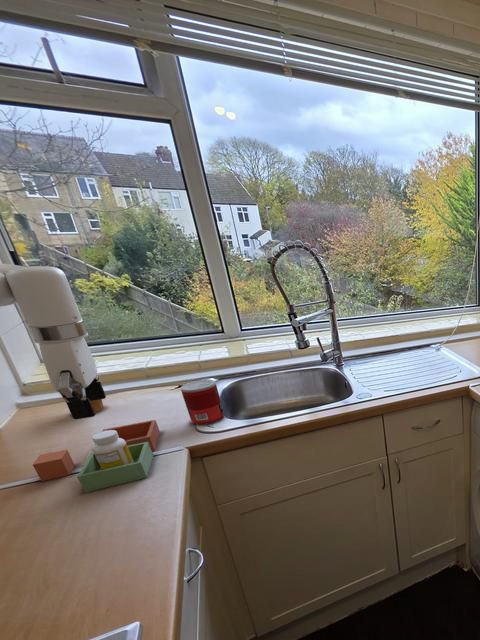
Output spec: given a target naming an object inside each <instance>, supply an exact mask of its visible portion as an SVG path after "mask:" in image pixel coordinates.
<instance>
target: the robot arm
mask: <svg viewBox="0 0 480 640" xmlns="http://www.w3.org/2000/svg"><path fill="white" fill-rule="evenodd" d="M15 304H17V306H18V308H19V310H20V313H21V315H22V317H23V319H24V322H25V324H26V327H27V329H28V331H29V333H30V335H31V337H32V340H33V342H34V343H35V344H39V351H40V355H41V358H42V361H43V365H44V367H45V370H46V373H47V376H48V378H49V381H50V384H51V387H52V388H53V389H52V390H53V391H55V392H59V391H61V392H62V393H63V394H62V395H63V397H64V399H65V400H64V399H63V400H64V402H65V403H66V405H67V408H68V410H69V413H70V415H71V417H72V419H73V420H81V419H88V418H94V417H95V416H96V413H95V412H94V410H93V408H92V405H91V403H90V401H93V400H100V399H102V400H105V399H106V397H107V395H106V393H105V390H104V388H103V385H102V382H101V381H100V377H99V376H97V374H98V368H97V364H96V361H95V359H94V357H93V354H92V352H91V350H90V347H89V345H88V343H87V341H86V338H87V337H89V332H88V330H87V328H86V325H85V322H84V320H83V317H82V314H81V312H80V309H79V306H78V304H77V301H76V298H75V296H74V294H73V291H72V289H71V286H70V283H69V280H68V278H67V276H66V274H65V272H64V271H63V270H62V269H60V268H58V267H56V266H50V265H49V266H47V265H46V266H45V265H36V266H35V265H33V266H32V265H31V266H24V265H17V264H11V263H0V307H6V306H11V305H15ZM97 381H98V382H97ZM77 384H80V385H77ZM71 385H76V386H71ZM74 390H79V393H80V394H79V393H77V392H76V391H74ZM63 397H62V398H63Z"/></svg>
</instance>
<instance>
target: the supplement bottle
mask: <svg viewBox="0 0 480 640" xmlns="http://www.w3.org/2000/svg"><path fill="white" fill-rule="evenodd" d="M102 431H103V430H102ZM102 431H100V432H98V433H96V434H94V435H92V437H91V438H92V441H93V443H94V445H93V446H92V453H94V454H95V456H96V458H97V460H98V462H99V465H100V467H101V469H102V470H104V469H109V468H113V467H118V466H122V465H126V464H131V463H134V461H133V459H132V456H131V454H130V452H129V449H128V447H127V444H126V442H125V440H124V439H122V438H118V437H119V436H118V433H117V431H115V430H108V431H103V432H102ZM95 444H96V445H95Z"/></svg>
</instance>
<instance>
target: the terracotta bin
mask: <svg viewBox="0 0 480 640" xmlns="http://www.w3.org/2000/svg"><path fill="white" fill-rule="evenodd" d="M108 430H115V431H117V433H118V436H119V437H118V438H122V439H124V440H125V442H126V444H127V446H129V445H134V444H139V443H144V442H148V443H149V446H150V448H151V451H152V452H155V451H156V448H157V445H158V441H159V439H160V436H161V430H160V428H159V425H158V423H157V420H156V419H152V420H146V421H141V422H135V423H129V424H125V425H120V426H114V427H109V428H103V430H102V431H101V432H103V431H108ZM94 445H96V444H95V443H94Z"/></svg>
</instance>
